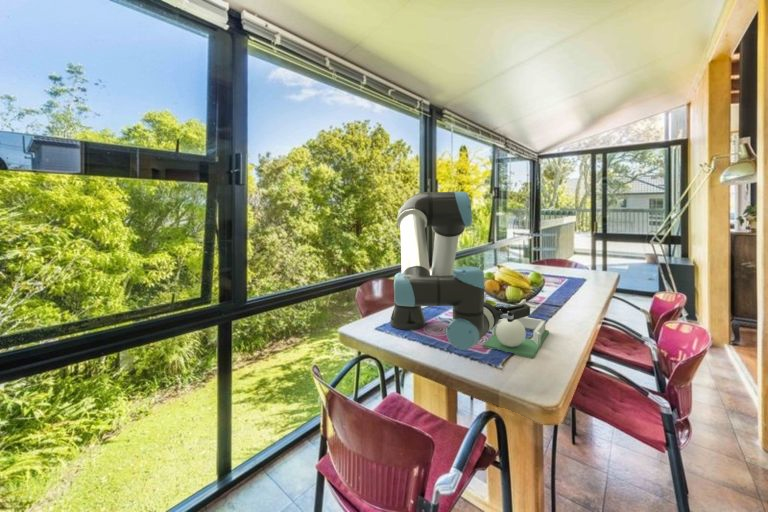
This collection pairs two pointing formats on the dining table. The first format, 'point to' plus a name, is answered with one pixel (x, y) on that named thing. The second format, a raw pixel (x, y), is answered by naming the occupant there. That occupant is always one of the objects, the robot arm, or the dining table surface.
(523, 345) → the green tray
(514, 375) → the dining table surface
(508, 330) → the ball
